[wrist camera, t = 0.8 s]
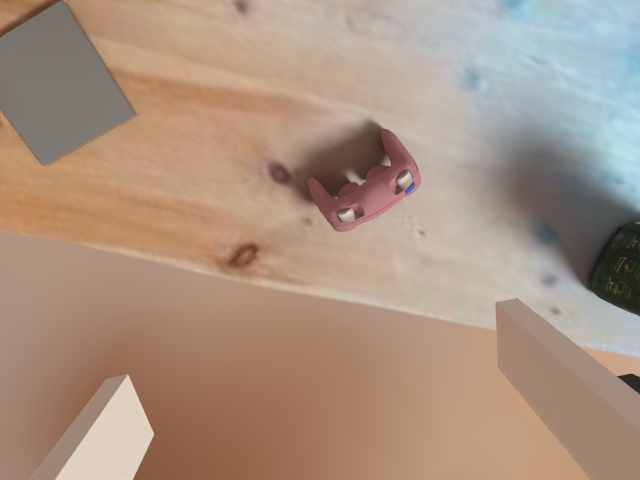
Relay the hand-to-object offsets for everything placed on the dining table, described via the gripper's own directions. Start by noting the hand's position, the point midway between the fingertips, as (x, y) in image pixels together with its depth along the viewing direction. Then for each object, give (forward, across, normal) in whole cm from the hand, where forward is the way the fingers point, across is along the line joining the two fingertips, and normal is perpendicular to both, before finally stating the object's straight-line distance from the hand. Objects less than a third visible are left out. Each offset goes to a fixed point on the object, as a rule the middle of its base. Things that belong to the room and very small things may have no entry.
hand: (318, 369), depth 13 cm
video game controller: (+25, +6, +2) cm, 26 cm away
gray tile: (+25, -20, +15) cm, 35 cm away
